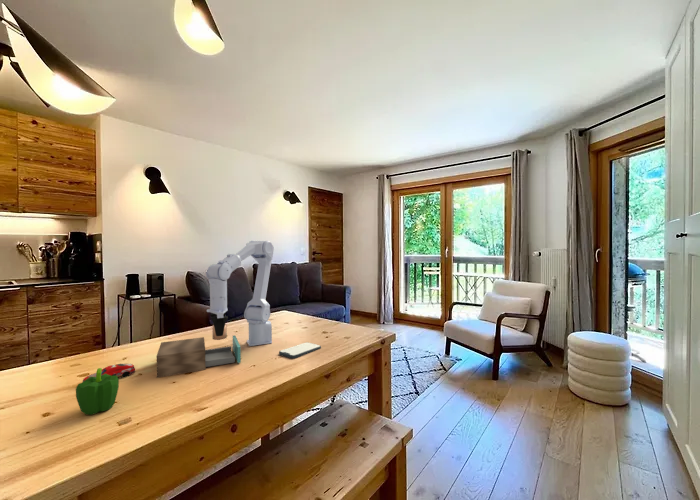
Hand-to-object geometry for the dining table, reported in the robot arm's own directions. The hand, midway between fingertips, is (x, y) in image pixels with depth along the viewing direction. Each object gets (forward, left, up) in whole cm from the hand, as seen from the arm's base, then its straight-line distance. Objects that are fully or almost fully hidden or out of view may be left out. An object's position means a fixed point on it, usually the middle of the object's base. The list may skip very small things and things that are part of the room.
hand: (218, 333), depth 113 cm
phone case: (-30, +5, -10) cm, 32 cm away
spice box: (+12, 0, -9) cm, 15 cm away
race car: (+32, +2, -10) cm, 33 cm away
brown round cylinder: (0, 0, -2) cm, 2 cm away
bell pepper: (+30, +24, -10) cm, 39 cm away
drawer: (0, 0, -9) cm, 9 cm away
